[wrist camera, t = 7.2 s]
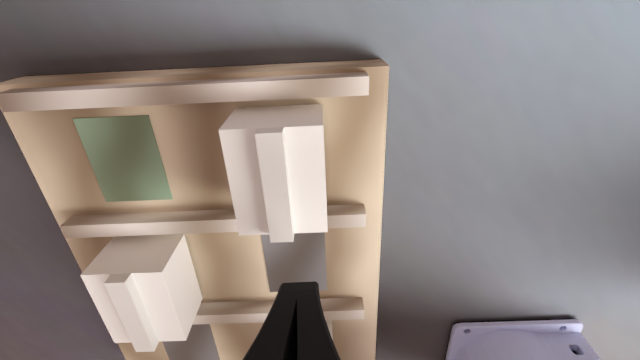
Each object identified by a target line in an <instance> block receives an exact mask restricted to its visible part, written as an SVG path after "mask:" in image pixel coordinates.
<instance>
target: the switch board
mask: <svg viewBox="0 0 640 360" xmlns="http://www.w3.org/2000/svg"><path fill="white" fill-rule="evenodd" d="M388 80H389V65H388V64H387V63H385V62H384V61H383V60H382V59H372V60H352V61H331V62H310V63H290V64H269V65H248V66H228V67H207V68H187V69H166V70H145V71H125V72H104V73H83V74H63V75H42V76H23V77H19V78H15V79H11V80H7V81H3V82H0V108H1V110H2V112H3V114H4V116H5V118H6V120H7V122H8V124H9V126H10V128H11V130H12V132H13V134H14V136H15V138H16V140H17V142H18V144H19V146H20V148H21V150H22V152H23V154H24V156H25V158H26V160H27V162H28V164H29V166H30V168H31V170H32V172H33V175H34V177H35V179H36V181H37V183H38V185H39V187H40V189H41V191H42V193H43V195H44V197H45V199H46V201H47V203H48V205H49V207H50V209H51V211H52V213H53V215H54V217H55V219H56V221H57V223H58V225H59V227H60V229H61V231H62V233H63V235H64V237H65V239H66V241H67V243H68V245H69V247H70V249H71V251H72V253H73V255H74V257H75V259H76V261H77V263H78V265H79V267H80V269H81V271H82V272H83V271H84V270H85V269H86V268H87V267H88V266H89V264H90V263H91V262H92V261H93V260H94V259H95V258H96V256H97V255H98V254H99V253H100V252H101V251H102V250H103V248H104V247H105V246H106V245H107V244H108V243H109V242H110V240H111V239H112V238H113V237H122V236H148V235H175V234H184V236H185V239H186V242H187V246H188V249H189V253H190V256H191V260H192V263H193V267H194V270H195V273H196V277H197V280H198V284H199V287H200V291H201V294H202V297H203V299H202V301H201V304H200V307H199V309H198V312H197V314H196V317H195V319H194V322H193V324H192V327H191V329H190V332H189V335H188V337H187V340H186V341H162V342H159V343H158V345H157V347H156V349H155V351H154V352H136V351H135V349H134V347H133V345H132V343H131V342H130V343H118V345H119V347H120V349H121V351H122V353H123V355H124V357H125V359H126V360H243V358H244V357H245V355H246V353H247V352H248V350H249V348H250V347H251V345H252V343H253V342H254V340H255V338H256V336H257V335H258V333H259V331H260V329H261V327H262V325H263V323H264V321H265V319H266V318H267V316H268V314H269V311H270V309H271V307H272V305H273V303H274V300H275V298H276V296H277V293H278V291H279V288H280V285H281V284H282V283H291V282H314V281H316V282H317V283H318V284H319V294H320V301H321V306H322V310H323V313H324V317H325V320H332V335H333V343H334V345H335V347H336V350H337V352H338V355H339V357H340V359H341V360H375V352H376V331H377V310H378V289H379V268H380V247H381V226H382V205H383V185H384V164H385V143H386V122H387V101H388ZM311 104H323V126H324V150H325V173H326V196H327V224H328V232H321V233H294V242H278V243H270V236H269V234H268V235H241V236H239V233H238V228H237V222H236V217H235V212H234V207H233V202H232V197H231V192H230V187H229V182H228V177H227V172H226V166H225V161H224V156H223V151H222V146H221V141H220V136H219V131H218V130H219V129H220V127H221V126H222V125H223V123H224V122H225V121H226V120H227V118H228V117H229V116H230V115H231V113H232V112H233V111H234V109H235V108H246V107H268V106H290V105H311Z"/></svg>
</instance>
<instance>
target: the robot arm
mask: <svg viewBox="0 0 640 360" xmlns="http://www.w3.org/2000/svg"><path fill="white" fill-rule="evenodd" d="M582 328H583V324H582V323H581V322H580V320H577V319H568V320H536V321H505V322H473V323H457V324H455V325H453V327H452V331H451V335H450V340H449V345H448V350H447V355H446V360H601V359H600V357H599V356H598V355H597V353H596V352H595V351H594V350H593V348H592V347H591V346H590V344H589V343H588V342H587V341H586V339H585V338H584V337H583V336H582V334H581V331H582ZM243 360H341V359H340V357H339V355H338V352H337V350H336V347H335V345H334V343H333V340H332V337H331V335H330V332H329V329H328V326H327V323H326V320H325V317H324V313H323V310H322V306H321V301H320V294H319V284H318V283H317V282H316V281H314V282H291V283H282V284H281V285H280V288H279V291H278V293H277V296H276V298H275V300H274V303H273V305H272V307H271V309H270V311H269V314H268V316H267V318H266V319H265V321H264V323H263V325H262V327H261V329H260V331H259V333H258V335H257V336H256V338H255V340H254V342H253V343H252V345H251V347H250V348H249V350H248V352H247V353H246V355H245V357H244V358H243Z"/></svg>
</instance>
